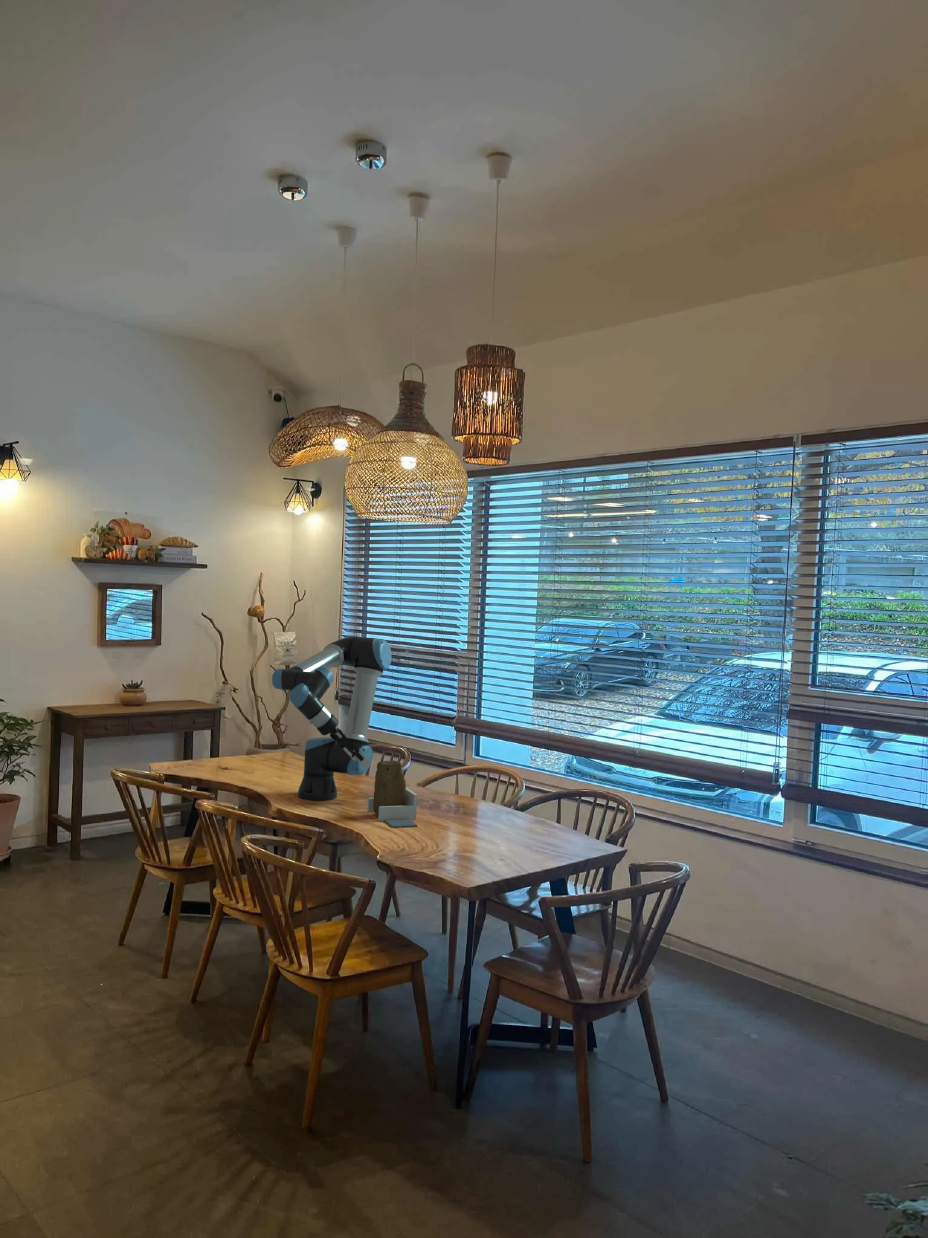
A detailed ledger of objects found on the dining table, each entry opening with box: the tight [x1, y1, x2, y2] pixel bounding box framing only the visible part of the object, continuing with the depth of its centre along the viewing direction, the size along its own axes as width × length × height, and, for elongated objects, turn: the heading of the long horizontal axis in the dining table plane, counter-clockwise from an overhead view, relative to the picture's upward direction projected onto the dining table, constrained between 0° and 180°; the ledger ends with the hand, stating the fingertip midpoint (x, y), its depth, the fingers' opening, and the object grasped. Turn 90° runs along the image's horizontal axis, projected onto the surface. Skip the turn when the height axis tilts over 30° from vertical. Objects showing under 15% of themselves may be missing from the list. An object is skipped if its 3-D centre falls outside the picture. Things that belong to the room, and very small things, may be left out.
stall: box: [367, 787, 418, 822], centre depth 325 cm, size 14×14×9 cm
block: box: [373, 760, 407, 817], centre depth 325 cm, size 11×8×20 cm
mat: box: [383, 818, 418, 829], centre depth 314 cm, size 9×9×1 cm
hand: (362, 762), depth 319 cm, fingers open, 13 cm apart
